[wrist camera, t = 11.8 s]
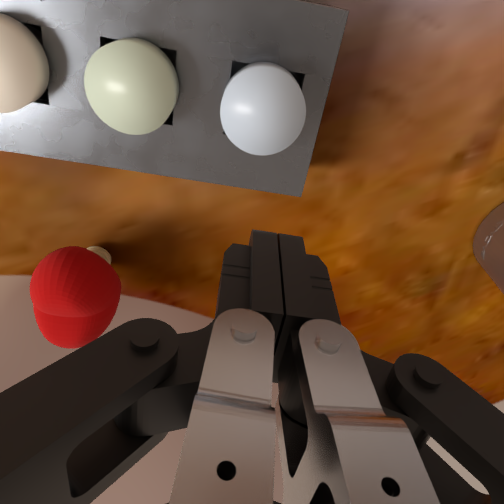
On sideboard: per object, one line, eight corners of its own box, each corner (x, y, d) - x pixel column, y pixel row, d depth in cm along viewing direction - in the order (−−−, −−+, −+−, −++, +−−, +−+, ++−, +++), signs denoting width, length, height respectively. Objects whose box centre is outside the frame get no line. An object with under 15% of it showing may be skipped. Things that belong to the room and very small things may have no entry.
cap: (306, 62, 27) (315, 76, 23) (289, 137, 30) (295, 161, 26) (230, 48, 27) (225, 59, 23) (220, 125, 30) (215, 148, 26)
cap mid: (188, 40, 27) (176, 50, 22) (183, 119, 29) (171, 141, 25) (108, 25, 26) (81, 33, 22) (110, 106, 29) (86, 127, 25)
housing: (332, 6, 28) (349, 10, 23) (294, 166, 35) (301, 196, 30) (-26, -65, 26) (-92, -77, 21) (6, 119, 33) (-39, 144, 28)
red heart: (57, 206, 37) (0, 270, 29) (134, 215, 38) (100, 281, 29) (69, 285, 42) (24, 359, 34) (137, 292, 43) (108, 367, 34)
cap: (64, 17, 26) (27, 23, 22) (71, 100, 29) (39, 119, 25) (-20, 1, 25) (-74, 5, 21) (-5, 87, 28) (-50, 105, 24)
